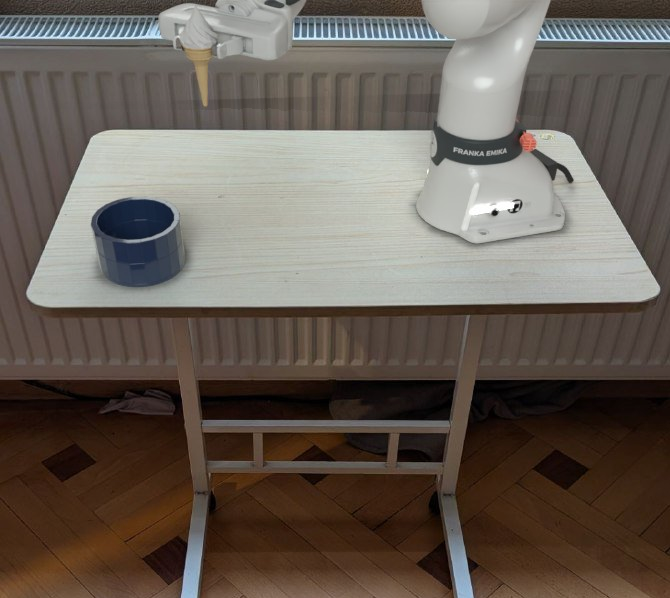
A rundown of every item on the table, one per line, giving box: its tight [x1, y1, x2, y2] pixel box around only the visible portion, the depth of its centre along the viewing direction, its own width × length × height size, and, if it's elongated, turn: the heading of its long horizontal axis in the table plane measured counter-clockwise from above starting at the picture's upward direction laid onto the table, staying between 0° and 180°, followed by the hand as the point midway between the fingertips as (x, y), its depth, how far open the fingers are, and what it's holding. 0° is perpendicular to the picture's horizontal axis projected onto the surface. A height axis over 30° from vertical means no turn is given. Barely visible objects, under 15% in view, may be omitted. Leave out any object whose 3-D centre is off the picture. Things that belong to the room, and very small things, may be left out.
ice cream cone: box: [179, 3, 218, 108], centre depth 122 cm, size 6×6×15 cm
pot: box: [90, 195, 186, 288], centre depth 113 cm, size 12×12×7 cm
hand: (196, 49), depth 121 cm, fingers closed on ice cream cone, 5 cm apart
